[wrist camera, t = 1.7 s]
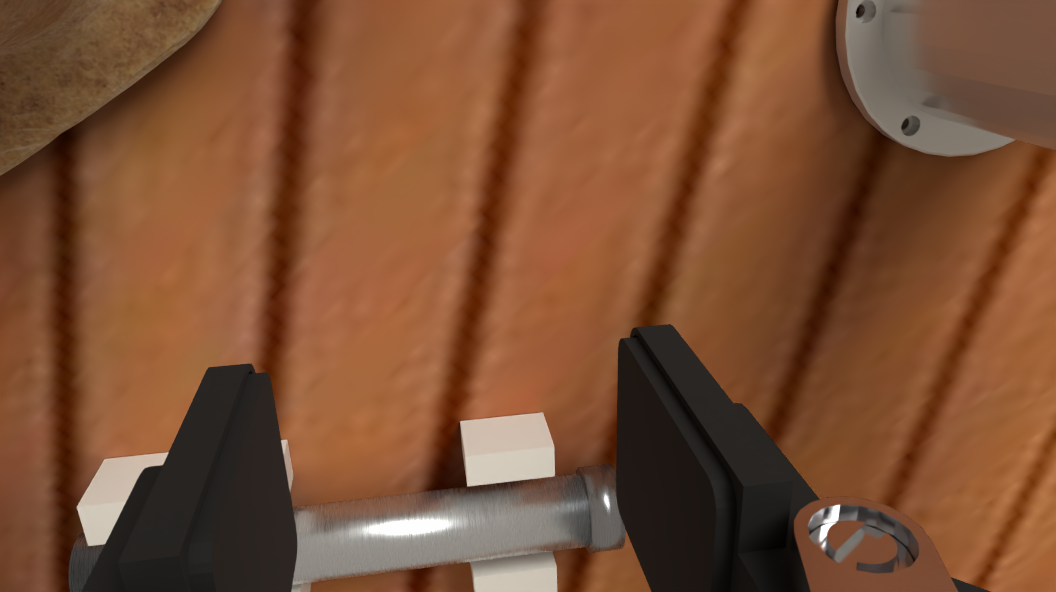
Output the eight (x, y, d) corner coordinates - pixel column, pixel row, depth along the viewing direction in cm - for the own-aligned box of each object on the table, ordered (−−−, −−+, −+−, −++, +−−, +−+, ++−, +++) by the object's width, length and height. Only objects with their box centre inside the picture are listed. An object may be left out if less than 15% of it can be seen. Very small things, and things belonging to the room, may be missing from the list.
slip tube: (604, 447, 40) (626, 496, 36) (604, 513, 41) (624, 567, 38) (90, 506, 37) (56, 566, 33) (110, 575, 38) (80, 640, 34)
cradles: (542, 412, 39) (556, 452, 36) (546, 551, 42) (559, 600, 39) (104, 459, 36) (76, 507, 33) (144, 603, 39) (122, 660, 36)
